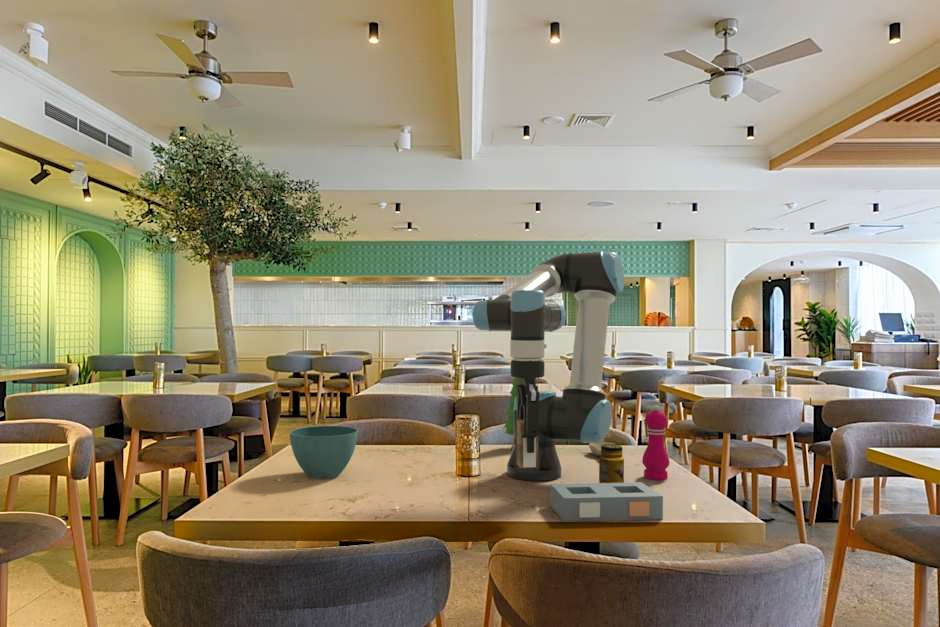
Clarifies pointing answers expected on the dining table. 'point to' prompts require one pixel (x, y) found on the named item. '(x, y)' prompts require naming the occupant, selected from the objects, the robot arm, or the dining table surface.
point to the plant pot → (323, 449)
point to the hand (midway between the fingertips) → (527, 464)
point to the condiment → (611, 464)
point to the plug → (520, 444)
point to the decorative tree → (511, 409)
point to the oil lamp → (599, 445)
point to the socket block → (606, 502)
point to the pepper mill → (655, 446)
